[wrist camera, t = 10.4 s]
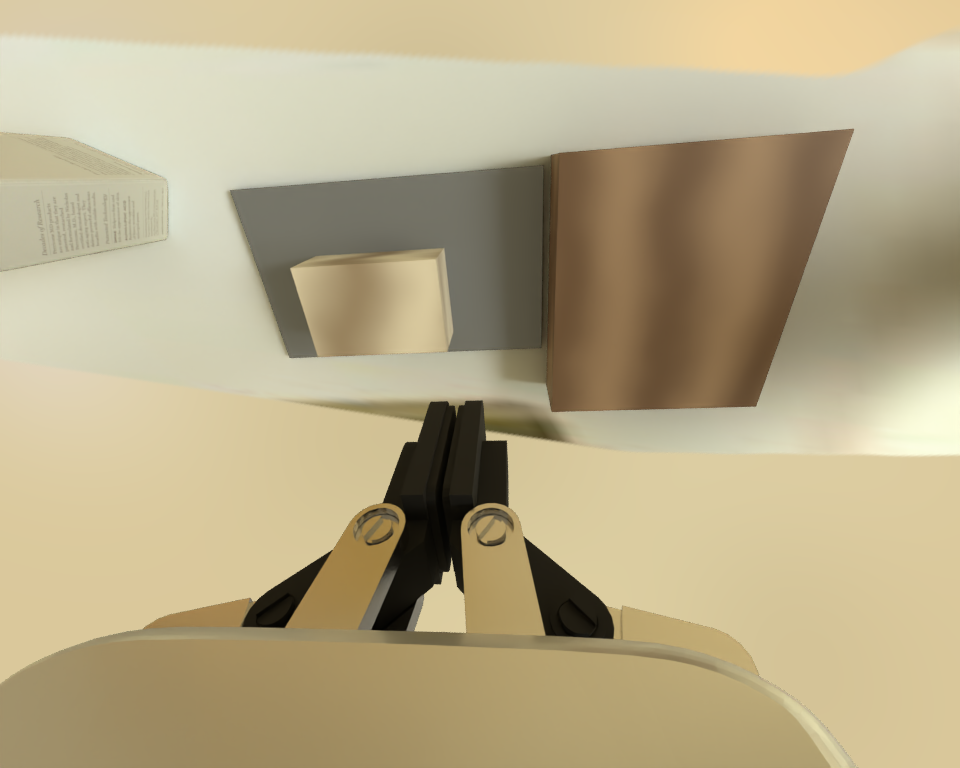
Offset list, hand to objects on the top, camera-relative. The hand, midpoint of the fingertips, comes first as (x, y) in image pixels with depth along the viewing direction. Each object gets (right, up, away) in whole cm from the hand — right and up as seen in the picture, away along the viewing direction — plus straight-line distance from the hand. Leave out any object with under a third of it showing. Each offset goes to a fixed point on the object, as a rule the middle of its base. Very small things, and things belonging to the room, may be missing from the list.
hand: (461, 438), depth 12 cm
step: (+12, +9, +14) cm, 21 cm away
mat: (-5, +10, +14) cm, 18 cm away
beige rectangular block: (-6, +6, +12) cm, 15 cm away
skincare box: (-23, +15, +13) cm, 30 cm away
